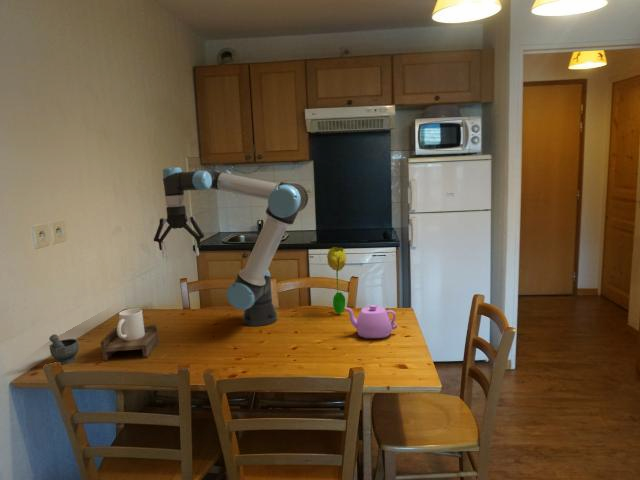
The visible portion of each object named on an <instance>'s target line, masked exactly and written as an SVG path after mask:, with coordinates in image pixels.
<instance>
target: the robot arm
mask: <svg viewBox="0 0 640 480" xmlns="http://www.w3.org/2000/svg"><path fill="white" fill-rule="evenodd" d="M162 182H163V187H164V199H165V205H166V207H165V209H166V216H167V218H163V217H161V218H159V224H158V227H157V230H156V233H155V235H154V237H153V241H154V242H156V243H158V248H159V251H161V255H162V258H163V259H166V258H167V250H166V242H165V241H164V240H165V239H166V237H167V235H169V234H170V231H171V230H172V229H175V230H176V229H183V228H184V230H186V231H187V232H188V233H189V234H190V235H191V236H192V237H193V238H194V239H195V240H194V249H195V256H196V257H199V256H200V252H199V248H201V245H202V243H201V240H202V239H204V237H205V234H204V233H203V231H202V230H201V228H200V226H199V225H198V223H197V222H196V218H195V216H194V215H191V216H187V210H186V206H185V204H186V200H185V193H184V192H185V191H205V190H209V189H213V190H217V191H223V192H227V193H232V194H237V195H242V196H247V197H251V198H255V199H259V200H260V199H261V200H265V201H267V205H268V206H267V207H266V210H265V214H266V218H265V221H264V224H263V226H262V228H261V231H260V233H259V235H258V238H257V240H256V242H255V244H254V246H253V248H252V251H251V253H250V256H249V258H248V259H247V262H246V264H245V267H244V268H243V269H240V270H239V271H238V272H237V275H236V277H235V279H234V282H232V283H231V284H230V285H229V287H228V288H227V290H226V299H227V300H228V303H229V304H230V305H231V306H232V307H233V308H235V309H236V310H239V311H243V313H242V323H243V324H244V325H246V326H248V327H249V326H251V327H261V326H267V325H271V324H274V323H275V322H277V321H278V313H277V310H276V308H275V305H274V303H273V296H272V295H273V293H272V281H271V272H270V270H269V267H270V265H271V262H272V261H273V259H274V257H275V254H276V253H277V250H278V248H279V245H280V243H281V241H282V239H283V236H284V235H285V233H286V230H287V228H288V227H290V226H292V225H293V224H294V222H295V220H296V219H297V216H298V214H299V212H301V211H303V210H304V209H305V208H306V207H307V205H308V202H309V194H308V191H307V189H306V188H305V187H304V186H303V185H302V184H298V183H290V182H285V181H284V182H283V181H280V182H276V183H275V182H272V181H266V180H261V179H256V178H251V177H246V176H241V175H236V174H231V173H227V172H226V173H225V172H221V171H218V170H217V169H207V170H194V171H193V170H191V171H183V170H182V168H181V167H178V166H177V167H166V168H163V169H162ZM187 222H190V223H191V224H192V226H193V228H194V229H195V231H194V230H193V228H191V227H190V225H189V224H188V223H187ZM166 223H167V224H168V226H166V229H165V230H164V232H163V234H162V235H161V233H162V230H163V228H164V224H166Z"/></svg>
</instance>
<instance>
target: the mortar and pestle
mask: <svg viewBox="0 0 640 480" xmlns="http://www.w3.org/2000/svg"><path fill="white" fill-rule="evenodd" d="M48 338H49V342H51V344H49V345H48V346H49V352H50V354H51V355H50V356H52V357H53V358H54V360H56V361H57V362H60V363H61V364H62V365H63V366H64V365H69V364H72V363H74V362H76V359H77V358H76V355H77V353H79V349H80V348H79V347H80V343H79V340H78V338H77V339H76V338H66V339H62V340H60V338H59V336H58V334H56V333H55V334H52V335H50V336H49V337H48ZM62 365H61V366H62Z"/></svg>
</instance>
